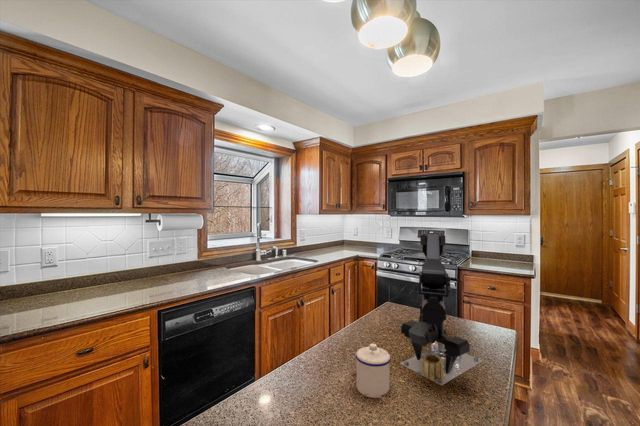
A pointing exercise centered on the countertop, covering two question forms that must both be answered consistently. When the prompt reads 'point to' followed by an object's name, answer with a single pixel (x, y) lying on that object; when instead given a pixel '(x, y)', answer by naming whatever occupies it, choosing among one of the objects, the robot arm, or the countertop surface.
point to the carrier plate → (453, 371)
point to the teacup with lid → (372, 371)
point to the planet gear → (432, 366)
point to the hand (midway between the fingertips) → (432, 366)
